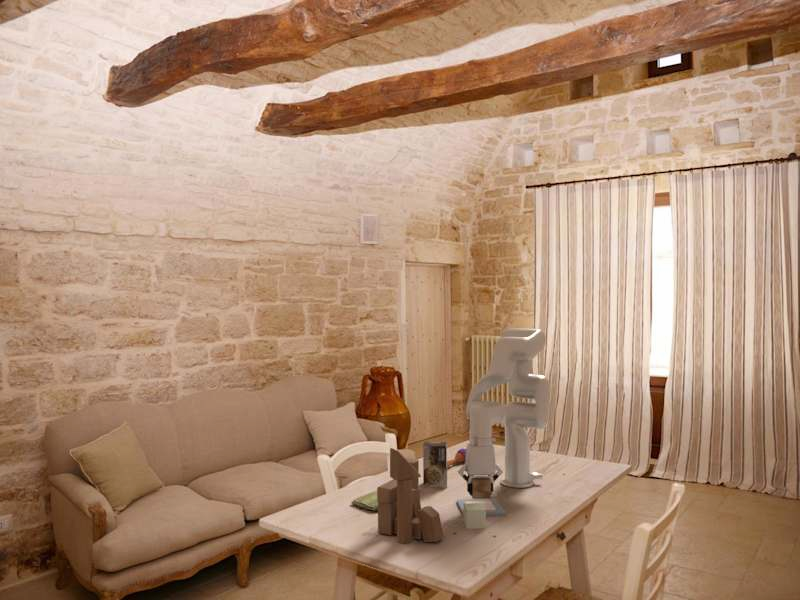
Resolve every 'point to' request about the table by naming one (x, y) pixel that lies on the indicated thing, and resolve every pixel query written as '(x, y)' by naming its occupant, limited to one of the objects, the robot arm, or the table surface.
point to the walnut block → (481, 487)
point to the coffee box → (435, 464)
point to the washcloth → (367, 501)
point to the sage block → (474, 516)
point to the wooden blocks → (406, 504)
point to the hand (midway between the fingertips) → (480, 493)
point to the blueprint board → (489, 504)
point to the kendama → (458, 457)
